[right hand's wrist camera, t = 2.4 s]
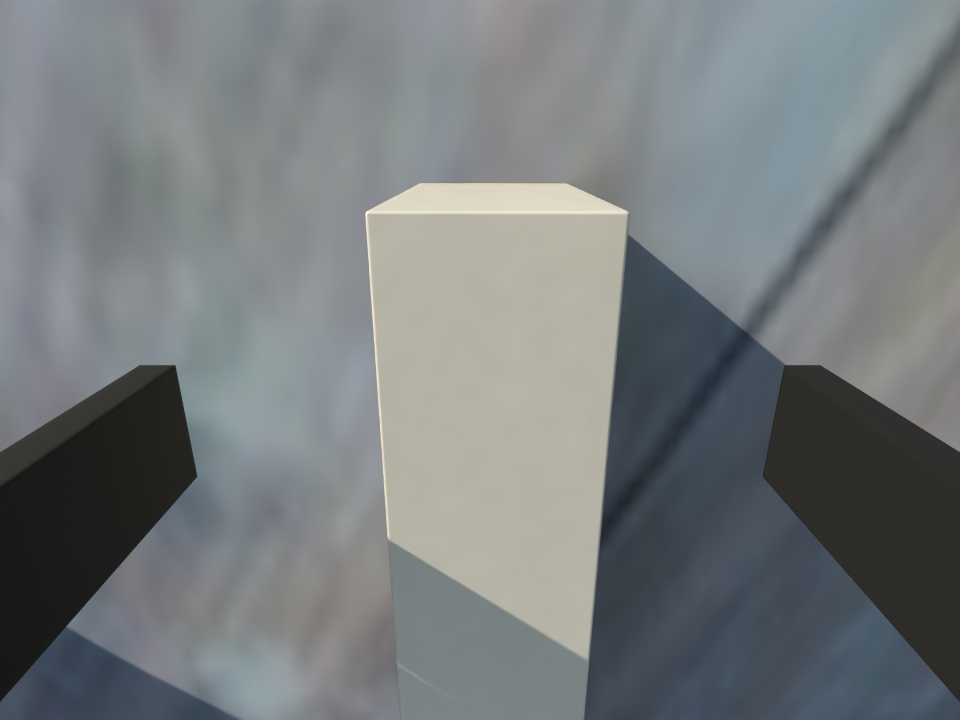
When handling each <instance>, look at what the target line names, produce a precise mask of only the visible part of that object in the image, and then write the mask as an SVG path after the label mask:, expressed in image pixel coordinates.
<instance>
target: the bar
mask: <svg viewBox="0 0 960 720" xmlns="http://www.w3.org/2000/svg"><path fill="white" fill-rule="evenodd" d="M629 217H630V214H629V212H628V211H625V210H623V209H621V208H619V207H617V206H614V205H612V204H610V203H608V202H606V201H604V200H601V199H599V198H597V197H595V196H593V195H590V194H588V193H586V192H584V191H582V190H579V189H577V188H575V187H573V186H571V185H569V184H506V183H420V184H418V185H416V186H415V187H413V188H411V189H409V190H407V191H405V192H403V193H401V194H399V195H397V196H395V197H394V198H392V199H390V200H388V201H386V202H384V203H382V204H380V205H378V206H376V207H374V208H373V209H371V210H369V211H367V212H366V228H367V243H368V257H369V272H370V286H371V301H372V315H373V329H374V344H375V358H376V373H377V387H378V402H379V416H380V430H381V445H382V459H383V474H384V488H385V503H386V517H387V531H388V546H389V560H390V575H391V589H392V604H393V618H394V633H395V647H396V661H397V676H398V690H399V705H400V719H401V720H584V714H585V703H586V692H587V681H588V670H589V659H590V648H591V637H592V626H593V615H594V604H595V593H596V581H597V570H598V559H599V548H600V537H601V526H602V515H603V504H604V493H605V482H606V471H607V460H608V449H609V438H610V427H611V416H612V405H613V394H614V383H615V372H616V360H617V349H618V338H619V327H620V316H621V305H622V294H623V283H624V272H625V261H626V250H627V239H628V228H629Z"/></svg>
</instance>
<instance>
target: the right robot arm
mask: <svg viewBox="0 0 960 720" xmlns="http://www.w3.org/2000/svg"><path fill="white" fill-rule="evenodd" d="M196 477H197V473H196V468H195V463H194V457H193V452H192V447H191V442H190V437H189V432H188V427H187V422H186V417H185V412H184V407H183V402H182V397H181V392H180V387H179V382H178V376H177V371H176V366H175V365H140V366H138V367H136V368H135V369H133V370H131V371H130V372H128V373H127V374H125V375H123V376H122V377H120V378H119V379H117V380H115V381H114V382H112V383H111V384H109V385H107V386H106V387H104V388H103V389H101V390H99V391H98V392H96V393H95V394H93V395H91V396H90V397H88V398H87V399H85V400H83V401H82V402H80V403H79V404H77V405H75V406H74V407H72V408H70V409H69V410H67V411H66V412H64V413H62V414H61V415H59V416H58V417H56V418H54V419H53V420H51V421H50V422H48V423H46V424H45V425H43V426H42V427H40V428H38V429H37V430H35V431H34V432H32V433H30V434H29V435H27V436H26V437H24V438H22V439H21V440H19V441H18V442H16V443H14V444H13V445H11V446H10V447H8V448H6V449H5V450H3V451H1V452H0V701H1V700H2V699H3V698H4V697H5V696H6V695H7V693H8V692H9V691H10V690H11V689H12V688H13V687H14V685H15V684H16V683H17V682H18V681H19V680H20V679H21V677H22V676H23V675H24V674H25V673H26V672H27V671H28V669H29V668H30V667H31V666H32V665H33V664H34V663H35V661H36V660H37V659H38V658H39V657H40V656H41V655H42V653H43V652H44V651H45V650H46V649H47V648H48V647H49V645H50V644H51V643H52V642H53V641H54V640H55V639H56V637H57V636H58V635H59V634H60V633H61V632H62V631H63V629H64V628H65V627H66V626H67V625H68V624H69V623H70V621H71V620H72V619H73V618H74V617H75V616H76V615H77V613H78V612H79V611H80V610H81V609H82V608H83V607H84V605H85V604H86V603H87V602H88V601H89V600H90V599H91V597H92V596H93V595H94V594H95V593H96V592H97V591H98V589H99V588H100V587H101V586H102V585H103V584H104V583H105V581H106V580H107V579H108V578H109V577H110V576H111V575H112V573H113V572H114V571H115V570H116V569H117V568H118V567H119V565H120V564H121V563H122V562H123V561H124V560H125V559H126V557H127V556H128V555H129V554H130V553H131V552H132V551H133V549H134V548H135V547H136V546H137V545H138V544H139V543H140V541H141V540H142V539H143V538H144V537H145V536H146V535H147V533H148V532H149V531H150V530H151V529H152V528H153V527H154V525H155V524H156V523H157V522H158V521H159V520H160V519H161V517H162V516H163V515H164V514H165V513H166V512H167V511H168V509H169V508H170V507H171V506H172V505H173V504H174V503H175V501H176V500H177V499H178V498H179V497H180V496H181V495H182V493H183V492H184V491H185V490H186V489H187V488H188V487H189V485H190V484H191V483H192V482H193V481H194V480H195V479H196ZM763 477H764V479H765V480H766V481H767V482H768V483H769V484H770V485H771V487H772V488H773V489H774V490H775V491H776V492H777V493H778V495H779V496H780V497H781V498H782V499H783V500H784V501H785V503H786V504H787V505H788V506H789V507H790V508H791V509H792V511H793V512H794V513H795V514H796V515H797V516H798V517H799V519H800V520H801V521H802V522H803V523H804V524H805V525H806V527H807V528H808V529H809V530H810V531H811V532H812V533H813V535H814V536H815V537H816V538H817V539H818V540H819V541H820V543H821V544H822V545H823V546H824V547H825V548H826V549H827V551H828V552H829V553H830V554H831V555H832V556H833V557H834V559H835V560H836V561H837V562H838V563H839V564H840V565H841V567H842V568H843V569H844V570H845V571H846V572H847V573H848V575H849V576H850V577H851V578H852V579H853V580H854V581H855V583H856V584H857V585H858V586H859V587H860V588H861V589H862V591H863V592H864V593H865V594H866V595H867V596H868V597H869V599H870V600H871V601H872V602H873V603H874V604H875V605H876V607H877V608H878V609H879V610H880V611H881V612H882V613H883V615H884V616H885V617H886V618H887V619H888V620H889V621H890V623H891V624H892V625H893V626H894V627H895V628H896V629H897V631H898V632H899V633H900V634H901V635H902V636H903V637H904V639H905V640H906V641H907V642H908V643H909V644H910V645H911V647H912V648H913V649H914V650H915V651H916V652H917V653H918V655H919V656H920V657H921V658H922V659H923V660H924V661H925V663H926V664H927V665H928V666H929V667H930V668H931V669H932V671H933V672H934V673H935V674H936V675H937V676H938V677H939V679H940V680H941V681H942V682H943V683H944V684H945V685H946V687H947V688H948V689H949V690H950V691H951V692H952V693H953V695H954V696H955V697H956V698H957V699H958V700H959V701H960V452H959V451H957V450H955V449H954V448H952V447H950V446H949V445H947V444H946V443H944V442H942V441H941V440H939V439H938V438H936V437H934V436H933V435H931V434H930V433H928V432H926V431H925V430H923V429H922V428H920V427H918V426H917V425H915V424H914V423H912V422H910V421H909V420H907V419H906V418H904V417H902V416H901V415H899V414H898V413H896V412H894V411H893V410H891V409H890V408H888V407H886V406H885V405H883V404H881V403H880V402H878V401H877V400H875V399H873V398H872V397H870V396H869V395H867V394H865V393H864V392H862V391H861V390H859V389H857V388H856V387H854V386H853V385H851V384H849V383H848V382H846V381H845V380H843V379H841V378H840V377H838V376H837V375H835V374H833V373H832V372H830V371H829V370H827V369H825V368H824V367H822V366H820V365H785V366H784V371H783V376H782V382H781V387H780V392H779V397H778V402H777V407H776V412H775V417H774V422H773V427H772V432H771V437H770V442H769V447H768V452H767V457H766V463H765V468H764V473H763Z"/></svg>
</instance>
